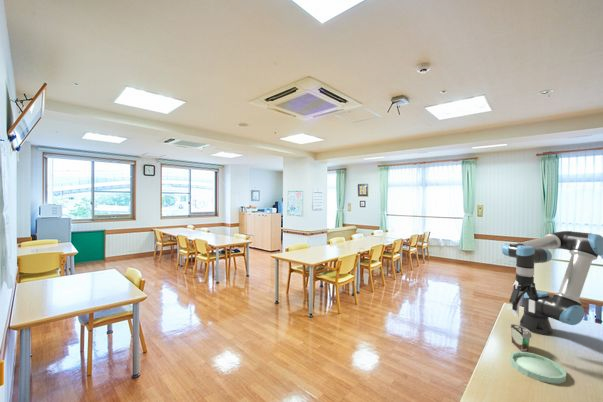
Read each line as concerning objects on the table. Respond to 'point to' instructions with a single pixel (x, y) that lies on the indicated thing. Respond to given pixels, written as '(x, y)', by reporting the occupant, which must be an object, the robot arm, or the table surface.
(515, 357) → the tray
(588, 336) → the table surface
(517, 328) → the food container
